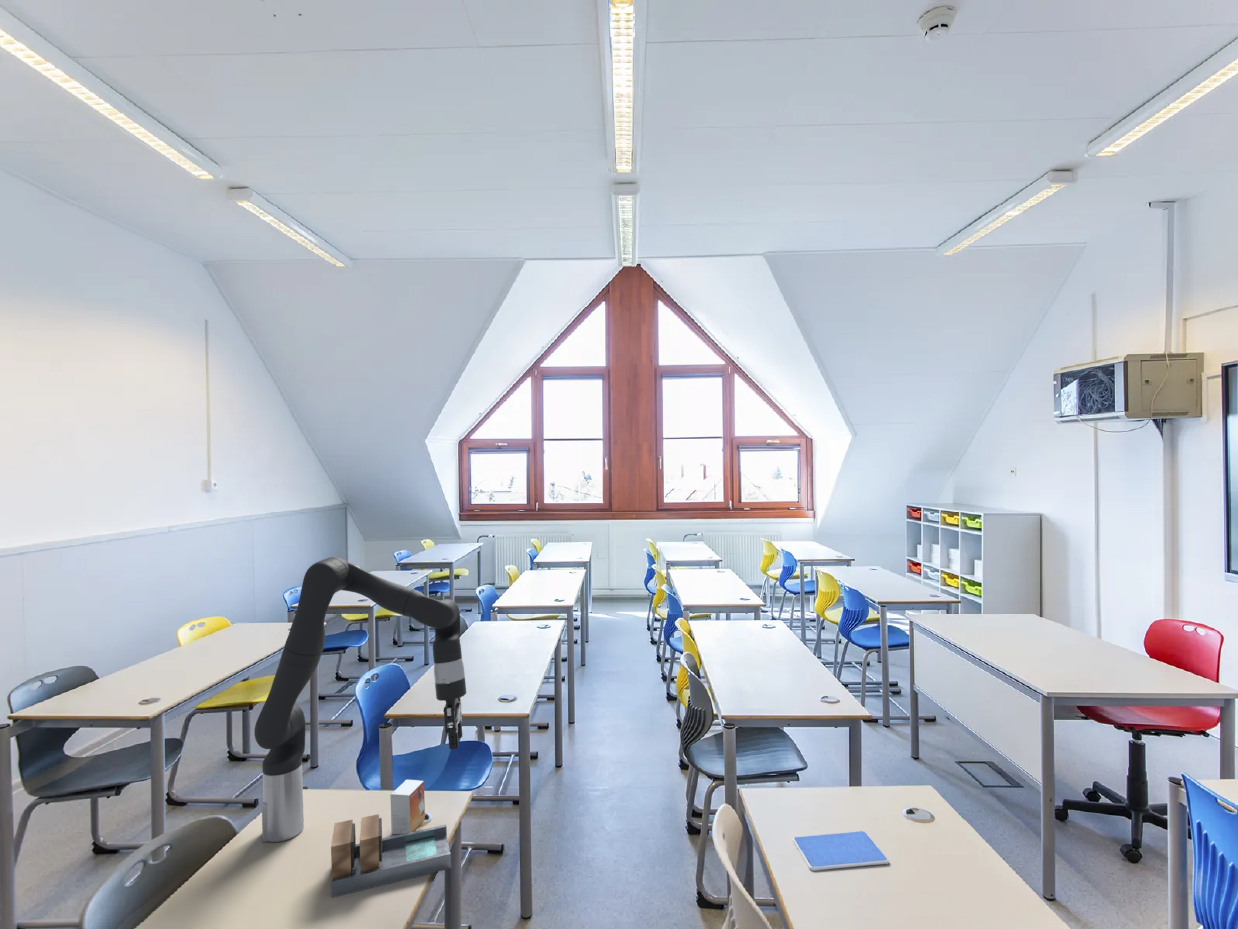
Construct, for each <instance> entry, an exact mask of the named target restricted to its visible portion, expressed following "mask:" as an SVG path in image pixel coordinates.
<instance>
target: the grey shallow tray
mask: <svg viewBox="0 0 1238 929" xmlns="http://www.w3.org/2000/svg"><path fill="white" fill-rule="evenodd" d="M447 830H448V829H447V824H443V825H438V826H434V827H428V828H425V829H424V828H423V829H420V830H419V829H418V830H414V831H413V832H410V833H405V834H395V835H391V836H388V837H387V836H386V837H382V861H381V862H380V868H377V869H373V870H368V871H364V872H361V870H360V842H359V843H356V851H355V863H354V868H353V869H352V874H351V875H347V876H343V877H338V878H334V879H332V878H331V898H334V897H339V896H343V895H348V894H351V893H355V892H359V891H363V890H368V889H372V888H376V887H380V886H384V885H388V884H389V885H390V884H393V883H397V882H401V881H405V880H408V879H414V878H418V877H423V876H426V875H429V874H430V875H431V874H433V873H438V872H441V871H446V870H450V869H452V853H451V851H450V847H449V840H448V833H447V832H448V831H447ZM437 871H438V872H437Z"/></svg>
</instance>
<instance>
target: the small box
mask: <svg viewBox="0 0 1238 929" xmlns="http://www.w3.org/2000/svg"><path fill="white" fill-rule="evenodd" d="M425 802H426V801H425V781H424V780H418V779H405V780H404V781H403V782H402V783H401V784H400V785H399V786H398V787H397V788H396V789H394V791H392V792H391V793H390V821H391V822H390V824H391V825H390V828H391V830H390V831H391V834H393V835H394V834H395V835H401V834H405V833H410V832H414V831H416V830H417V828H418V827H419V826H420V825H421V824H422V823H423V822H424V821H425V820H426V810H425V806H426V805H425ZM424 819H425V820H424ZM423 820H424V821H423Z"/></svg>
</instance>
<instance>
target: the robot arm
mask: <svg viewBox="0 0 1238 929" xmlns="http://www.w3.org/2000/svg"><path fill="white" fill-rule="evenodd" d="M340 591H345V592H351V593H356V594H357V595H358V594H359V595H362V596H363V597H366V598H367V599H369V600H371V601H372V602H373V603H375V604H376V605H378V606H379V607H381V608H383V609H385V610H387V611H389V612H392V613H396V614H398V615H401V616H404V617H406V618H407V617H408V618H411V619H413V620H415V621H417V622H419V623H420V624H423V625H425V626H427V627H429V628H433V629H434V640H433V643H432V656H433V677H434V685H435V686H434V687H435V688H434V689H435V698H436V700H437V701H444V702H445V705H444V707H443V715H444V716H443V719H444V727H445V728H444V729H445V730H444V732H445V734H447V738H448V746H449V750H456V749H458V748H459V747H460V746H459V745H460V744H459V739H461V738H462V737H463V728H462V727H463V726H462V721H463V716H464V715H463V710H462V709H463V708H462V701H461V698H462V697H465V695H467V686H466V685H467V684H466V674H465V667H464V662H463V656H462V645H461V639H460V638H461V612H460V607H459V606H458V604H457V603H456V601H454V600H452V599H450V598H445V599H440V600H439V599H435V598H434V597H433V598H432V597H429V596H426V595H425V594H424V593H423V592H422V591H420V590H418V589H417V590H416V589H414V588H411V587H408V586H405V585H402V584H398V583H395V582H393V581H390V580H387V579H386V578H382V577H380V576H378V575H375V574H373V573H371V572H368V571H367V570H364V569H362V568H360V567H358V566H356V564H353V563H351V562H349V561H348V560H346V559H343V558H342V557H341V558H340V557H338V556H330V557H327V558H324V559H321V560H319V561H316V562H315V563H313V564H311V565H310V566H309V567H308V568H307V570H306V572H305V573H304V576H303V581H302V584H301V590H300V594H299V600H298V603H297V609H296V610H295V611H296V612H295V615H294V618H293V621H292V624H291V626H290V629H289V632H288V635H287V638H286V640H285V643H284V646H283V650H282V652H281V656H280V659H279V662H278V666H277V669H276V672H275V675H274V677H273V680H272V684H271V687H270V690H269V692H268V695H267V698H266V700H265V702H264V704H263V706H262V709H261V711H260V713H259V715H258V717H257V720H256V722H255V725H254V730H253V731H254V733H253V734H254V738H255V742H256V743H257V744H258V746H259V747H260V748H262V749H264V750H269V751H268V753H267V754H266V756H265V757H264V759H263V761H262V766H261V768H262V771H261V772H262V796H263V797H262V798H263V802H262V804H261V826H262V827H261V830H262V843H265V842H271V843H279V842H284V841H288V840H290V839H292V838H294V837H297V836H298V835H299V834H300V833H301V832H302V831H303V830H304V827H305V826H304V825H305V823H304V822H305V821H304V820H305V819H304V818H305V817H304V796H303V795H304V794H303V792H304V789H303V784H304V783H303V757H304V753H305V750H306V749H305V748H306V719H305V718H306V717H305V714H304V711H303V709H302V708H301V706H299V704H297V703H296V702H297V700H298V697H299V696H300V695H301V693H302V692H303V690H304V688H305V687H306V686H307V684H308V683H309V681H310V679H312V676H313V675H314V674H315V672H316V669H317V668H318V665H319V663H320V661H321V656H322V654H323V651H324V647H325V645H326V644H325V643H326V630H325V620H326V618H325V617H326V615H327V612H328V609H329V606H330V603H331V601H332V599H333V597H334V596H335V594H337V593H338V592H340ZM450 726H452V727H450Z"/></svg>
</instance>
